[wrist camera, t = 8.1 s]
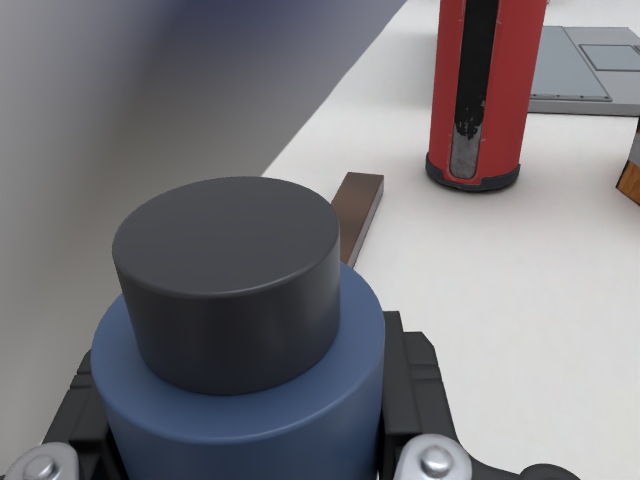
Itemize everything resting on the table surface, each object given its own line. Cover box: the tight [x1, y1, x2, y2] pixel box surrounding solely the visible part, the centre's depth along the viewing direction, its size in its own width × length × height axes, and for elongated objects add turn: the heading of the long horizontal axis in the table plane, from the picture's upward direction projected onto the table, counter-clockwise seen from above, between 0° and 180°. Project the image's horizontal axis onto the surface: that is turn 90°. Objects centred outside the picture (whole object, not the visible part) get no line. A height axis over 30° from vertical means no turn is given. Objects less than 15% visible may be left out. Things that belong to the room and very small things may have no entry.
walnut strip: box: [330, 172, 384, 269], centre depth 38 cm, size 18×3×2 cm, turn 164°
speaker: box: [425, 0, 547, 192], centre depth 42 cm, size 8×8×18 cm
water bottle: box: [90, 177, 385, 480], centre depth 12 cm, size 5×5×12 cm
